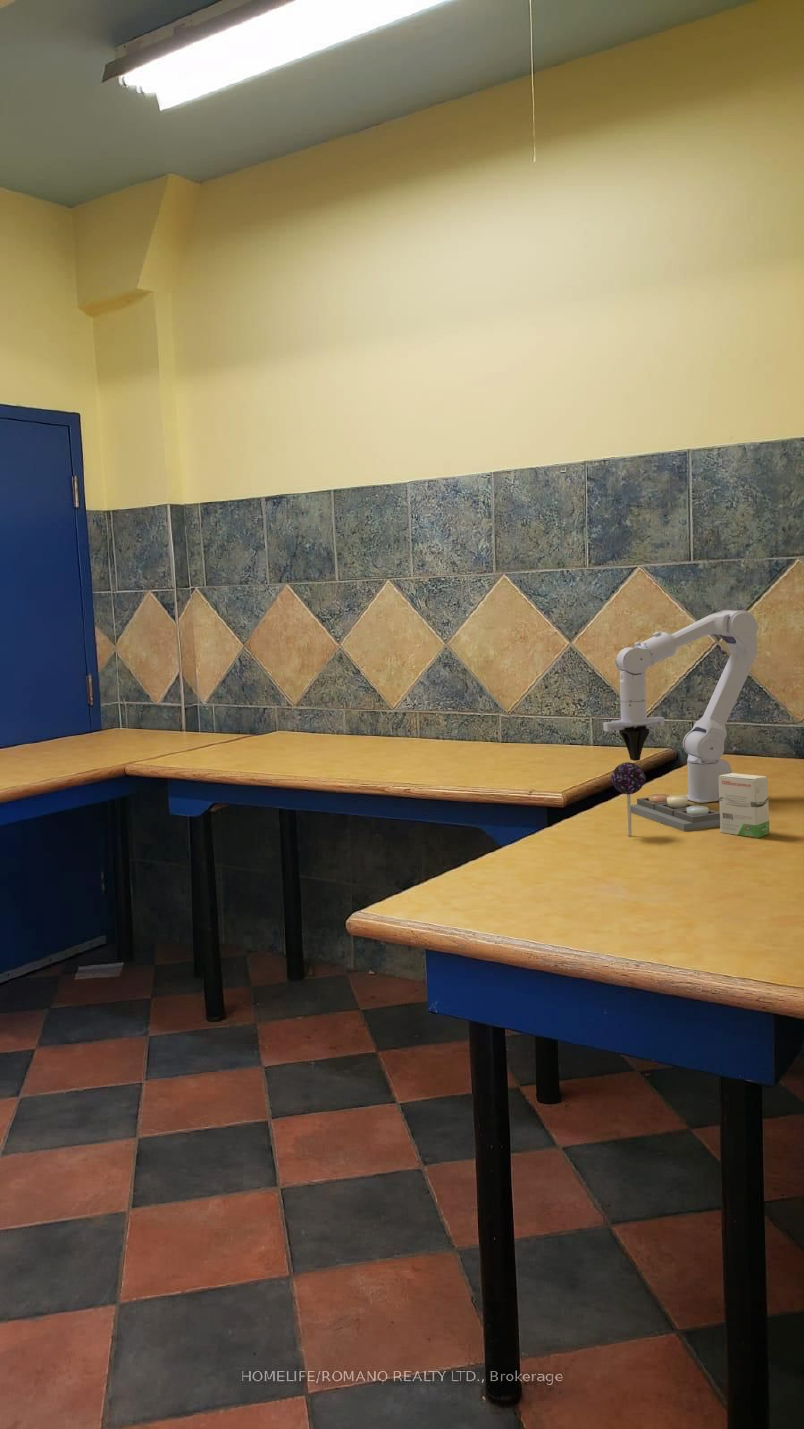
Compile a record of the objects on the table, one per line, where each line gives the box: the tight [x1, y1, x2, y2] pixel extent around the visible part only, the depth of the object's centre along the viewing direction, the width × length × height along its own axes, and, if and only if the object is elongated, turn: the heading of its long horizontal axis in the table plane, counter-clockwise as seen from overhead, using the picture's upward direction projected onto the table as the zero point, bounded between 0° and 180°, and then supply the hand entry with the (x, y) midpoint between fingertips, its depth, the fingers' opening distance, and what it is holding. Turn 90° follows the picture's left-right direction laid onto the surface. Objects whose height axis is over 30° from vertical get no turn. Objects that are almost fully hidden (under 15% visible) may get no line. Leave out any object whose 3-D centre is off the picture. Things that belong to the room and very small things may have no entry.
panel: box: [631, 796, 720, 832], centre depth 232 cm, size 11×22×3 cm, turn 18°
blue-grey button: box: [687, 805, 710, 816], centre depth 224 cm, size 4×4×2 cm
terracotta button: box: [648, 793, 670, 803], centre depth 239 cm, size 4×4×2 cm
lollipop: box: [610, 761, 647, 837], centre depth 218 cm, size 7×7×15 cm
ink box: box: [718, 772, 771, 839], centre depth 215 cm, size 9×5×12 cm, turn 39°
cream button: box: [667, 794, 689, 808], centre depth 231 cm, size 4×4×2 cm
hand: (635, 760), depth 246 cm, fingers closed
